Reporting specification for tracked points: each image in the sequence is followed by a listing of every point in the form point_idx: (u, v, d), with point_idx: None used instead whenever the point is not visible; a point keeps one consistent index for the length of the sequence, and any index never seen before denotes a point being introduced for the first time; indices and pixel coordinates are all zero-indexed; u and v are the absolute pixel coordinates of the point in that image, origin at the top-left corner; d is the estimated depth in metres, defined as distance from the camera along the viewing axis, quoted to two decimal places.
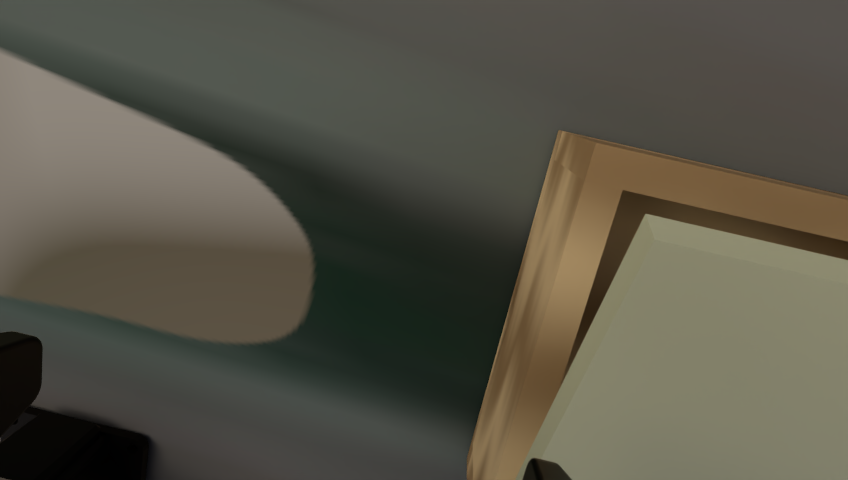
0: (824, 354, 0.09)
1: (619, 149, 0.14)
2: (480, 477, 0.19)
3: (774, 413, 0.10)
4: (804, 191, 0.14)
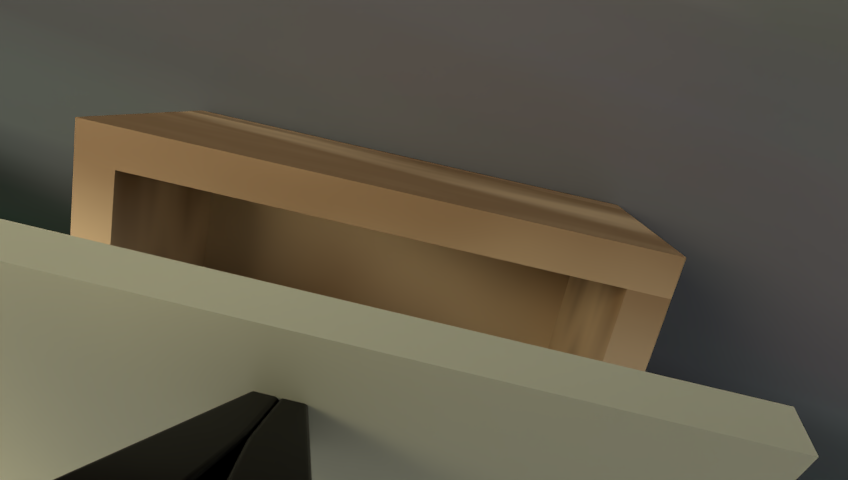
0: (63, 346, 0.08)
1: (102, 124, 0.12)
2: None
3: (85, 415, 0.09)
4: (304, 170, 0.12)
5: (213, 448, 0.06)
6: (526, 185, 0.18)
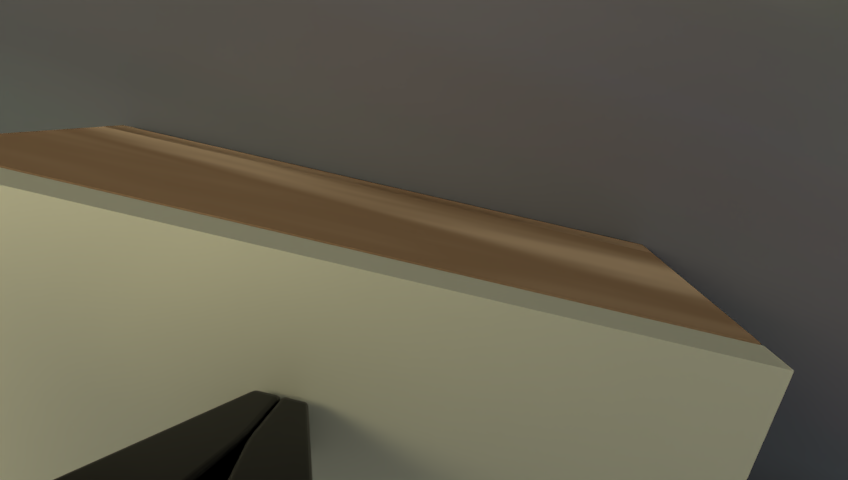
0: (66, 295, 0.08)
1: None
2: None
3: (63, 391, 0.09)
4: (218, 217, 0.09)
5: (213, 448, 0.06)
6: (528, 220, 0.14)
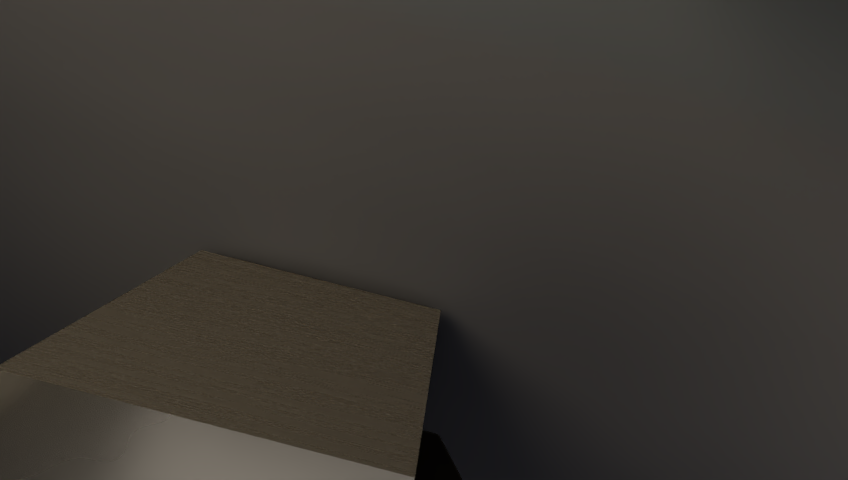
0: None
1: None
2: None
3: None
4: None
5: None
6: None
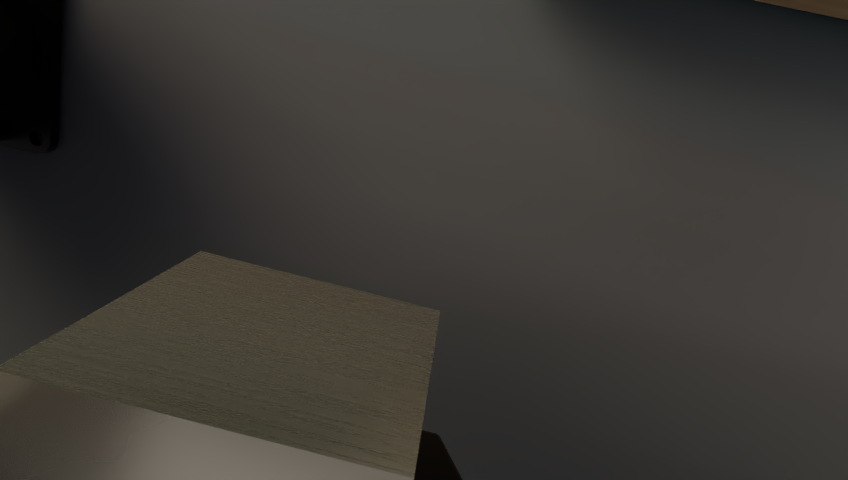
0: None
1: None
2: None
3: None
4: None
5: None
6: None
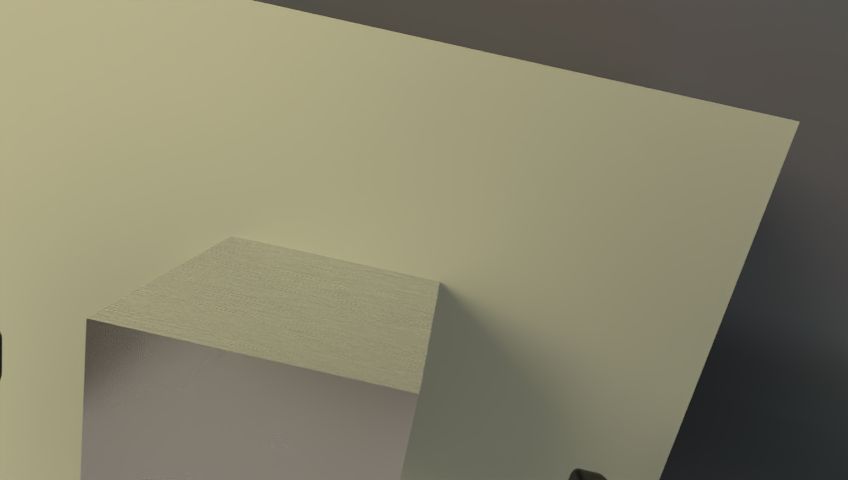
0: (177, 74, 0.10)
1: None
2: None
3: (170, 165, 0.10)
4: None
5: None
6: None
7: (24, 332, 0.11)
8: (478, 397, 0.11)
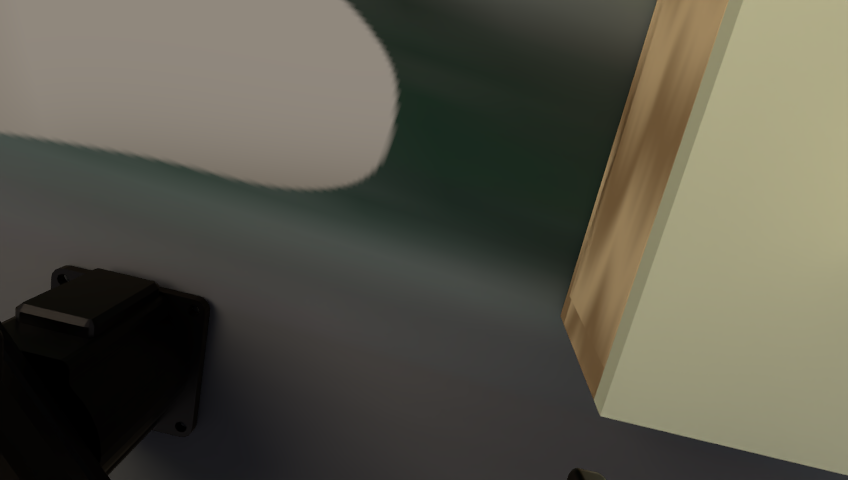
0: None
1: None
2: (597, 303, 0.17)
3: None
4: None
5: None
6: None
7: (723, 176, 0.13)
8: None
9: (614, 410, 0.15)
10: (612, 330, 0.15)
